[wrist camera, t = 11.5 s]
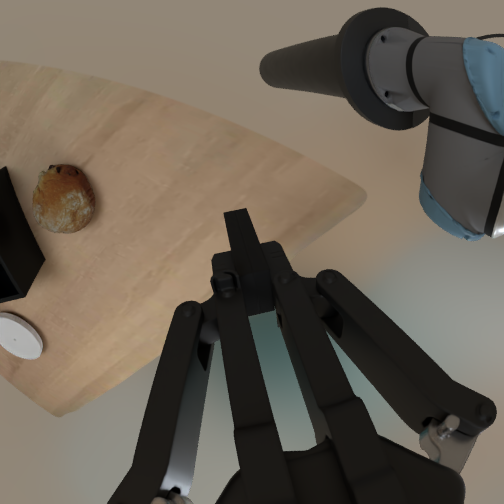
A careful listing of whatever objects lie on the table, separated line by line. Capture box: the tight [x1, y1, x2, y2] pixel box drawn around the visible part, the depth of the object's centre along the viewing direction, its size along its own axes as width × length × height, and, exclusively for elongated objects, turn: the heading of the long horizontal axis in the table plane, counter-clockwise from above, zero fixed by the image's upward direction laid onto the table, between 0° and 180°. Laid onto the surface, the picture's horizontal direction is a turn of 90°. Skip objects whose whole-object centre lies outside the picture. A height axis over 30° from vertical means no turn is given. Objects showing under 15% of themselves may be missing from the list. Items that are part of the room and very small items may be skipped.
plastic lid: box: [0, 312, 43, 359], centre depth 45 cm, size 14×14×2 cm
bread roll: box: [33, 164, 95, 233], centre depth 34 cm, size 10×10×8 cm
